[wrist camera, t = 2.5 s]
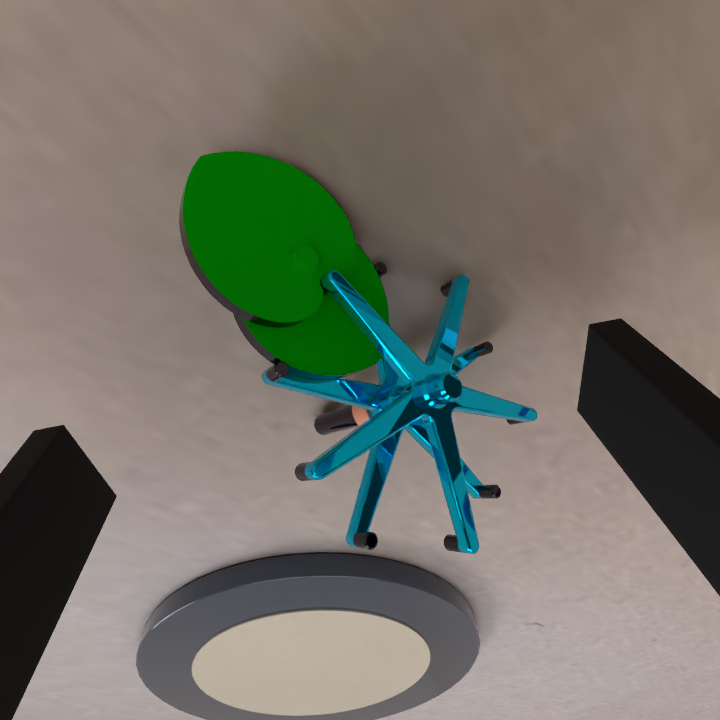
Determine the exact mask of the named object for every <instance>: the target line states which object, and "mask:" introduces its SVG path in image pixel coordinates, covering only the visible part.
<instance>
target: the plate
mask: <svg viewBox="0 0 720 720" xmlns="http://www.w3.org/2000/svg"><path fill="white" fill-rule="evenodd" d="M479 645H480V639H479V634H478V629H477V626H476V622H475V618H474V615H473V612H472V610H471V608H470V606H469V604H468V602H467V601H466V600H465V598H464V597H463V596H462V595H461V594H460V592H459V591H457V590H456V589H455V588H454V587H452V586H451V585H450V584H449V583H447V582H446V581H444V580H442V579H440V578H439V577H437V576H435V575H434V574H431V573H429V572H426V571H424V570H422V569H419V568H417V567H414V566H411V565H407V564H404V563H400V562H397V561H393V560H387V559H382V558H377V557H372V556H362V555H353V554H331V553H316V554H296V555H287V556H279V557H271V558H265V559H260V560H256V561H251V562H246V563H242V564H238V565H235V566H232V567H228V568H225V569H222V570H219V571H216V572H214V573H211V574H209V575H206V576H204V577H201V578H199V579H197V580H195V581H193V582H191V583H189V584H188V585H186V586H184V587H182V588H180V589H179V590H177V591H176V592H175V593H173V594H172V595H171V596H169V597H168V598H166V599H165V600H164V601H163V602H162V603H161V604H160V605H159V606H158V607H157V608H156V609H155V611H154V612H153V614H152V615H151V617H150V618H149V620H148V621H147V623H146V626H145V629H144V632H143V635H142V638H141V641H140V645H139V648H138V651H137V658H136V666H137V670H138V673H139V676H140V678H141V679H142V681H143V683H144V684H145V686H146V687H147V688H148V689H149V690H150V691H151V692H152V693H153V694H154V695H156V696H157V697H158V698H160V699H161V700H162V701H164V702H166V703H167V704H169V705H171V706H173V707H175V708H177V709H179V710H181V711H184V712H186V713H188V714H191V715H194V716H197V717H200V718H203V719H207V720H375V719H379V718H383V717H386V716H390V715H393V714H397V713H399V712H402V711H405V710H408V709H411V708H413V707H416V706H418V705H420V704H423V703H425V702H427V701H429V700H431V699H433V698H435V697H437V696H439V695H440V694H442V693H443V692H445V691H446V690H448V689H450V688H451V687H452V686H454V685H455V684H456V683H457V682H458V681H460V680H461V679H462V678H463V677H464V676H465V675H466V674H467V673H468V671H469V670H470V669H471V667H472V666H473V664H474V663H475V661H476V658H477V656H478V653H479Z"/></svg>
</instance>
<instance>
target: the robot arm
mask: <svg viewBox="0 0 720 720" xmlns="http://www.w3.org/2000/svg"><path fill="white" fill-rule="evenodd" d="M577 411H578V412H579V413H580V415H581V416H582V417H583V419H584V420H585V421H586V422H587V424H588V425H589V426H590V428H591V429H592V430H593V432H594V433H595V434H596V435H597V437H598V438H599V439H600V441H601V442H602V443H603V445H604V446H605V447H606V449H607V450H608V451H609V452H610V454H611V455H612V456H613V458H614V459H615V460H616V462H617V463H618V464H619V465H620V467H621V468H622V469H623V471H624V472H625V473H626V475H627V476H628V477H629V478H630V480H631V481H632V482H633V484H634V485H635V486H636V488H637V489H638V490H639V491H640V493H641V494H642V495H643V497H644V498H645V499H646V501H647V502H648V503H649V505H650V506H651V507H652V508H653V510H654V511H655V512H656V514H657V515H658V516H659V518H660V519H661V520H662V521H663V523H664V524H665V525H666V527H667V528H668V529H669V531H670V532H671V533H672V534H673V536H674V537H675V538H676V540H677V541H678V542H679V544H680V545H681V546H682V547H683V549H684V550H685V551H686V553H687V554H688V555H689V557H690V558H691V559H692V560H693V562H694V563H695V564H696V566H697V567H698V568H699V570H700V571H701V572H702V574H703V575H704V576H705V577H706V579H707V580H708V581H709V583H710V584H711V585H712V587H713V588H714V589H715V590H716V592H717V593H718V594H719V596H720V399H719V398H718V397H717V396H716V395H714V394H713V393H712V392H711V391H710V390H708V389H707V388H706V387H705V386H703V385H702V384H701V383H700V382H698V381H697V380H696V379H695V378H694V377H692V376H691V375H690V374H689V373H687V372H686V371H685V370H684V369H683V368H681V367H680V366H679V365H678V364H676V363H675V362H674V361H673V360H671V359H670V358H669V357H668V356H667V355H665V354H664V353H663V352H662V351H660V350H659V349H658V348H657V347H655V346H654V345H653V344H652V343H651V342H649V341H648V340H647V339H646V338H644V337H643V336H642V335H641V334H639V333H638V332H637V331H636V330H635V329H633V328H632V327H631V326H630V325H628V324H627V323H626V322H625V321H623V320H622V319H621V318H620V319H615V320H610V321H605V322H599V323H594V324H589V329H588V336H587V344H586V351H585V358H584V365H583V372H582V380H581V387H580V394H579V401H578V408H577ZM116 497H117V496H116V494H115V493H114V492H113V490H112V489H111V488H110V486H109V485H108V484H107V482H106V481H105V480H104V478H103V477H102V476H101V474H100V473H99V472H98V470H97V469H96V468H95V466H94V465H93V464H92V462H91V461H90V460H89V458H88V457H87V456H86V454H85V453H84V452H83V450H82V449H81V448H80V446H79V445H78V444H77V442H76V441H75V440H74V438H73V437H72V436H71V434H70V433H69V432H68V430H67V429H66V428H65V426H64V425H61V426H56V427H50V428H45V429H40V430H35V431H33V432H32V434H31V435H30V436H29V438H28V439H27V440H26V441H25V443H24V444H23V445H22V447H21V448H20V449H19V450H18V452H17V453H16V454H15V455H14V457H13V458H12V459H11V461H10V462H9V463H8V464H7V466H6V467H5V468H4V469H3V471H2V472H1V473H0V720H12V718H13V716H14V714H15V712H16V710H17V708H18V705H19V703H20V701H21V699H22V697H23V695H24V693H25V691H26V688H27V686H28V684H29V682H30V680H31V678H32V676H33V674H34V671H35V669H36V667H37V665H38V663H39V661H40V659H41V656H42V654H43V652H44V650H45V648H46V646H47V644H48V642H49V639H50V637H51V635H52V633H53V631H54V629H55V627H56V624H57V622H58V620H59V618H60V616H61V614H62V612H63V610H64V607H65V605H66V603H67V601H68V599H69V597H70V595H71V593H72V590H73V588H74V586H75V584H76V582H77V580H78V578H79V575H80V573H81V571H82V569H83V567H84V565H85V563H86V561H87V558H88V556H89V554H90V552H91V550H92V548H93V546H94V544H95V541H96V539H97V537H98V535H99V533H100V531H101V529H102V526H103V524H104V522H105V520H106V518H107V516H108V514H109V512H110V509H111V507H112V505H113V503H114V501H115V499H116Z"/></svg>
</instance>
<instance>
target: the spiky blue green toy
mask: <svg viewBox="0 0 720 720" xmlns="http://www.w3.org/2000/svg"><path fill="white" fill-rule="evenodd" d="M179 225H180V233H181V239H182V243H183V247H184V250H185V253H186V256H187V258H188V260H189V263H190V265H191V267H192V269H193V270H194V272H195V274H196V275H197V277H198V278H199V280H200V281H201V283H202V284H203V286H204V287H205V288H206V289H207V290H208V292H209V293H210V294H211V295H212V296H213V297H214V298H215V299H216V300H217V301H218V302H219V303H221V304H222V305H223V306H224V307H226V308H227V309H228V310H230V311H231V312H233V314H234V317H235V320H236V322H237V324H238V326H239V328H240V330H241V331H242V333H243V334H244V336H245V337H246V339H247V340H248V341H249V343H250V344H251V345H252V346H253V347H254V348H255V349H256V350H257V351H258V352H259V353H260V354H261V355H262V356H264V357H265V358H266V359H267V360H269V361H270V362H272V363H273V364H274V365H272V366H271V367H269V368H268V369H267V370H265V371H264V372H263V373H262V380H263V382H264V383H265V384H268V385H272V386H276V387H280V388H284V389H288V390H292V391H296V392H300V393H304V394H308V395H312V396H316V397H320V398H324V399H328V400H332V401H336V402H340V403H344V404H348V405H347V406H344V407H341V408H339V409H336V410H333V411H330V412H327V413H324V414H321V415H319V416H318V417H317V418H316V419H315V424H314V425H315V429H316V431H317V432H318V433H319V434H322V435H327V434H331V433H335V432H339V431H342V430H346V429H350V428H354V427H357V428H356V429H355V430H353V431H352V432H351V433H349V434H348V435H347V436H345V437H344V438H343V439H341V440H340V441H339V442H337V443H336V444H334V445H333V446H332V447H330V448H329V449H328V450H326V451H325V452H324V453H322V454H321V455H320V456H318V457H317V458H315V459H314V460H313V461H311V462H306V463H300V464H299V465H298V466H297V467H296V469H295V475H296V477H297V479H299V480H301V481H307V480H319V479H323V478H325V477H326V476H328V475H330V474H331V473H333V472H334V471H336V470H338V469H339V468H341V467H342V466H344V465H346V464H347V463H349V462H350V461H352V460H354V459H355V458H357V457H358V456H360V455H362V454H363V453H365V452H366V451H368V450H370V452H369V456H368V459H367V463H366V467H365V470H364V474H363V478H362V481H361V485H360V489H359V492H358V496H357V499H356V503H355V507H354V510H353V514H352V518H351V521H350V525H349V529H348V532H347V536H346V541H347V544H348V545H349V546H351V547H357V548H362V549H368V550H372V549H374V548H375V547H376V546H377V543H378V538H377V536H376V534H375V533H373V532H368V531H369V528H370V525H371V522H372V519H373V516H374V513H375V510H376V507H377V505H378V502H379V499H380V496H381V493H382V490H383V487H384V484H385V481H386V478H387V475H388V472H389V469H390V467H391V464H392V461H393V458H394V455H395V452H396V449H397V446H398V443H399V440H400V437H401V434H402V431H403V430H404V429H405V430H406V431H407V432H408V433H409V434H410V435H411V436H412V437H413V438H414V439H415V440H416V441H417V442H418V443H419V444H420V445H421V446H422V447H423V448H424V449H425V450H426V451H427V452H428V453H429V454H430V455H431V456H432V457H433V458H434V459H435V462H436V466H437V469H438V473H439V477H440V480H441V484H442V487H443V491H444V494H445V498H446V501H447V505H448V508H449V512H450V516H451V519H452V523H453V526H454V530H455V533H456V535H447V536H446V537H445V539H444V546H445V548H446V549H447V550H449V551H456V552H463V553H471V554H474V553H476V552H477V551H478V549H479V542H478V538H477V533H476V528H475V524H474V519H473V514H472V510H471V505H470V500H469V496H468V493H469V494H470V495H471V496H472V497H473V498H499V497H500V494H501V490H500V488H499V486H498V485H483V484H482V483H481V482H480V481H479V480H478V478H477V477H476V476H475V475H474V473H473V472H472V471H471V470H470V469H469V467H468V466H467V465H466V464H465V462H464V461H463V460H462V459H461V458H460V454H459V450H458V445H457V440H456V436H455V431H454V426H453V422H452V412H453V411H454V412H461V413H468V414H475V415H482V416H489V417H495V418H502V419H506V420H507V422H508V423H509V424H511V425H512V424H518V423H524V422H530V421H535V420H536V419H537V412H536V410H535V409H533V408H530V407H527V406H524V405H520V404H517V403H514V402H511V401H508V400H505V399H502V398H499V397H495V396H492V395H489V394H486V393H483V392H480V391H477V390H473V389H470V388H467V387H464V386H462V385H461V382H460V380H459V378H458V377H457V376H456V374H457V373H459V372H460V371H461V370H462V369H464V368H465V367H466V366H468V365H469V364H470V363H471V362H473V361H474V360H475V359H476V358H478V357H480V356H483V355H486V354H488V353H491V352H492V351H493V346H492V344H491V343H490V342H484V343H482V344H479V345H476V346H474V347H471V348H469V349H467V350H465V351H463V352H461V353H459V354H457V355H456V356H454V354H455V349H456V344H457V339H458V334H459V330H460V325H461V320H462V315H463V310H464V305H465V300H466V295H467V290H468V285H469V279H468V277H467V276H466V275H464V274H462V275H460V276H458V277H456V278H454V279H453V280H451V281H449V282H448V283H446V284H444V285H442V286H441V293H442V294H443V295H444V296H446V297H447V300H446V303H445V306H444V309H443V312H442V314H441V317H440V320H439V323H438V326H437V329H436V332H435V335H434V338H433V341H432V344H431V346H430V349H429V352H428V355H427V358H426V361H425V363H424V362H423V361H422V360H421V359H420V358H419V357H418V356H417V355H416V354H415V353H414V352H413V351H412V350H411V349H410V347H409V346H408V345H407V344H406V343H405V342H404V341H403V340H402V339H401V338H400V337H399V336H398V335H397V334H396V333H395V331H394V330H393V329H392V328H391V327H390V324H389V313H388V305H387V299H386V295H385V291H384V288H383V285H382V282H381V280H380V277H381V276H382V275H384V274H385V273H386V272H387V268H386V266H385V264H384V263H382V262H378V263H376V264H375V265H374V266H373V264H372V262H371V261H370V259H369V258H368V256H367V255H366V254H365V252H364V251H363V250H362V249H361V248H360V246H359V245H358V244H357V243H356V242H355V238H354V234H353V231H352V228H351V225H350V223H349V221H348V219H347V217H346V215H345V214H344V212H343V210H342V209H341V207H340V206H339V205H338V203H337V202H336V201H335V200H334V198H333V197H332V196H331V195H330V194H329V193H328V192H327V191H326V190H325V189H324V188H323V187H322V186H321V185H320V184H319V183H317V182H316V181H315V180H314V179H312V178H311V177H309V176H308V175H307V174H305V173H303V172H302V171H300V170H299V169H297V168H295V167H293V166H291V165H289V164H287V163H284V162H282V161H280V160H277V159H274V158H271V157H268V156H264V155H260V154H254V153H248V152H220V153H213V154H208V155H204V156H200V158H199V159H198V160H197V162H196V163H195V165H194V166H193V168H192V170H191V172H190V174H189V177H188V179H187V182H186V185H185V188H184V191H183V194H182V198H181V203H180V211H179ZM375 363H376V364H377V369H378V374H379V384H377V385H376V384H370V383H364V382H358V381H353V380H347V379H341V377H345V376H349V375H352V374H354V373H357V372H359V371H361V370H363V369H366V368H368V367H370V366H371V365H373V364H375ZM358 426H359V427H358Z"/></svg>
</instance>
